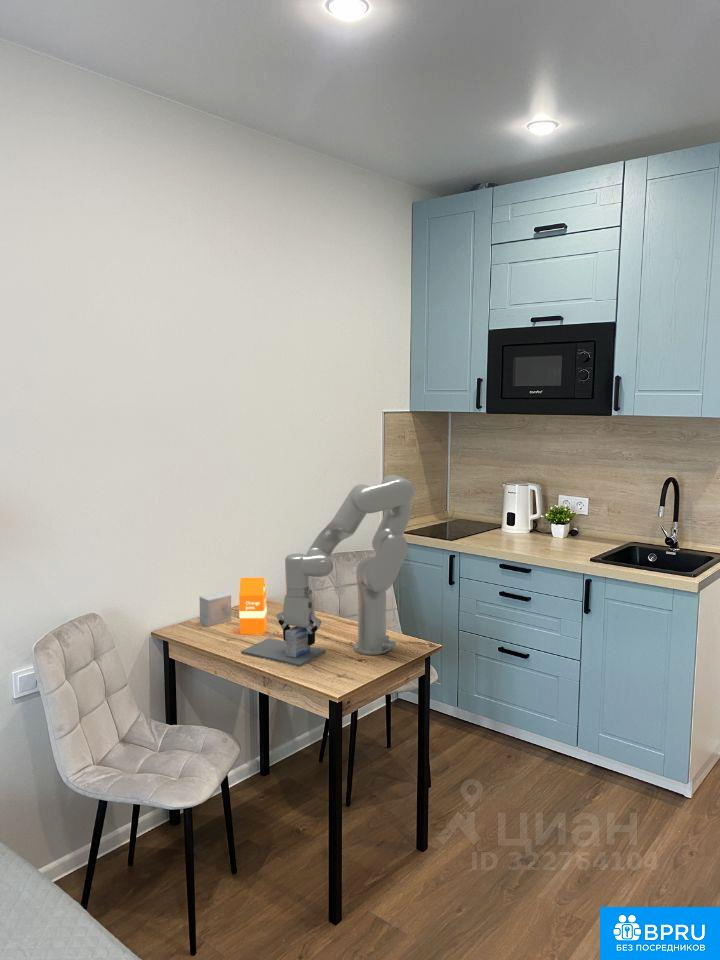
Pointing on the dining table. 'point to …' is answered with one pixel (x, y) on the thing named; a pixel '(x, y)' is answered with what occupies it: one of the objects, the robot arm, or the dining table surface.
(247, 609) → the orange juice
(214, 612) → the skincare box
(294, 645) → the medicine box
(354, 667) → the dining table surface
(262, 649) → the mat
